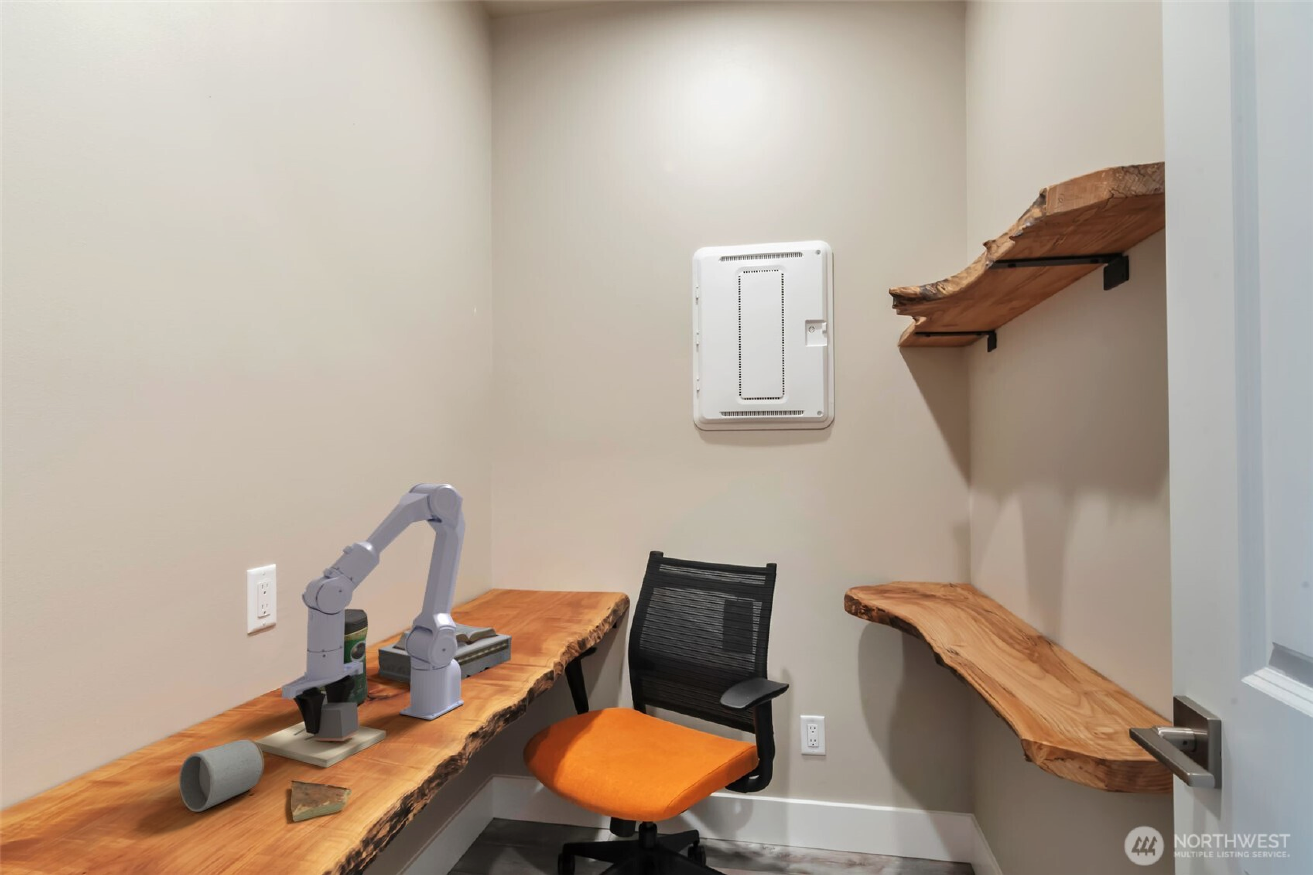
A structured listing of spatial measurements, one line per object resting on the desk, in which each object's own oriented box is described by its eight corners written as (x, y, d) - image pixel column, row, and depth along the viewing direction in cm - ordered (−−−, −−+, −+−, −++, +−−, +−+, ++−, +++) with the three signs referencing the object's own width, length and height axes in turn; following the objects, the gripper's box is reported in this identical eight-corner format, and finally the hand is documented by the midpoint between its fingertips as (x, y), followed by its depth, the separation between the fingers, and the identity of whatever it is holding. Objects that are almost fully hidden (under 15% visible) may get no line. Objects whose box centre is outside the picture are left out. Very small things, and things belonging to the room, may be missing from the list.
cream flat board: (316, 722, 119) (316, 715, 119) (385, 738, 112) (385, 730, 112) (253, 748, 108) (254, 741, 108) (326, 767, 101) (326, 759, 101)
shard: (291, 790, 95) (291, 778, 95) (347, 778, 99) (348, 766, 99) (290, 826, 86) (290, 812, 86) (353, 811, 89) (353, 798, 89)
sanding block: (331, 732, 112) (329, 702, 112) (358, 732, 110) (356, 702, 110) (314, 740, 108) (312, 710, 109) (342, 740, 106) (340, 710, 107)
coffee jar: (338, 695, 133) (340, 605, 134) (373, 698, 132) (375, 606, 132) (305, 713, 123) (308, 616, 124) (343, 716, 122) (345, 617, 123)
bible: (366, 673, 148) (367, 630, 149) (465, 647, 170) (466, 610, 170) (423, 696, 134) (424, 648, 134) (523, 664, 155) (524, 623, 156)
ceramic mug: (268, 790, 94) (268, 736, 95) (209, 818, 87) (210, 760, 87) (222, 777, 99) (223, 726, 99) (163, 802, 91) (164, 747, 91)
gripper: (343, 634, 119) (342, 709, 118) (270, 656, 106) (267, 740, 105) (372, 639, 116) (370, 715, 116) (300, 661, 103) (297, 747, 102)
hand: (323, 727), depth 110 cm, fingers closed on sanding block, 4 cm apart
